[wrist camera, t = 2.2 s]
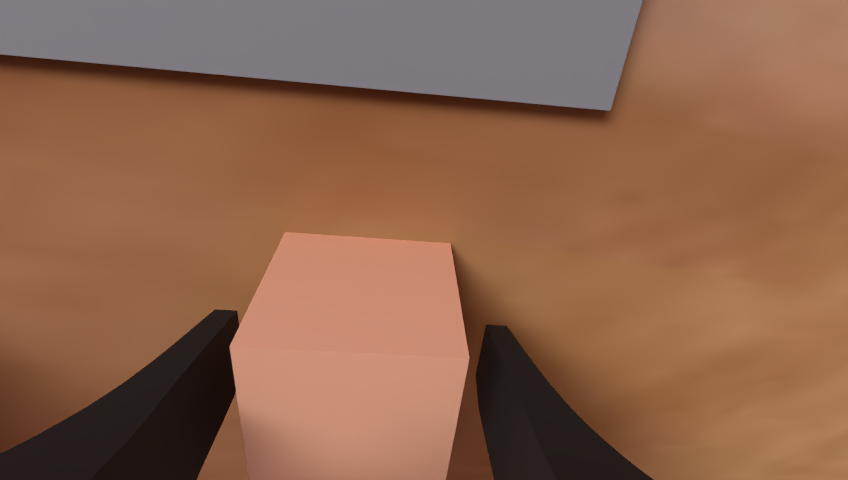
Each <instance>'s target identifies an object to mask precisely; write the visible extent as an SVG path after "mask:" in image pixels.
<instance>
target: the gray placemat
mask: <svg viewBox="0 0 848 480" xmlns="http://www.w3.org/2000/svg"><path fill="white" fill-rule="evenodd" d="M642 1H643V0H0V54H2V55H12V56H23V57H34V58H45V59H56V60H66V61H77V62H88V63H99V64H110V65H121V66H131V67H142V68H153V69H164V70H175V71H185V72H196V73H207V74H218V75H229V76H240V77H250V78H261V79H272V80H283V81H294V82H304V83H315V84H326V85H337V86H348V87H359V88H369V89H380V90H391V91H402V92H413V93H423V94H434V95H445V96H456V97H467V98H478V99H488V100H499V101H510V102H521V103H532V104H542V105H553V106H564V107H575V108H586V109H597V110H607V111H610V110H611V107H612V103H613V100H614V97H615V93H616V90H617V86H618V83H619V80H620V76H621V73H622V69H623V66H624V63H625V59H626V56H627V52H628V49H629V45H630V42H631V39H632V35H633V32H634V28H635V25H636V22H637V18H638V15H639V11H640V8H641V5H642Z"/></svg>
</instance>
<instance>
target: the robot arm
mask: <svg viewBox="0 0 848 480" xmlns="http://www.w3.org/2000/svg"><path fill="white" fill-rule="evenodd" d="M238 328H239V322H238V314H237V311H232V310H214V311H213V312H212V313H210V314H209V315H208V316H207V317H205V318H204V319H203V320H202V321H201V322H200V323H198V324H197V325H196V326H195V327H194V328H192V329H191V330H190V331H189V332H188V333H187V334H185V335H184V336H183V337H182V338H181V339H179V340H178V341H177V342H176V343H175V344H173V345H172V346H171V347H170V348H168V349H167V350H166V351H165V352H164V353H162V354H161V355H160V356H159V357H157V358H156V359H155V360H154V361H152V362H151V363H150V364H148V365H147V366H146V367H144V368H143V369H142V370H140V371H139V372H138V373H136V374H135V375H134V376H132V377H131V378H130V379H128V380H127V381H126V382H124V383H123V384H121V385H120V386H118V387H117V388H115V389H114V390H112V391H111V392H109V393H108V394H106V395H105V396H103V397H102V398H100V399H99V400H97V401H95V402H94V403H92V404H91V405H89V406H88V407H86V408H84V409H83V410H81V411H79V412H78V413H76V414H74V415H72V416H71V417H69V418H67V419H65V420H63V421H62V422H60V423H58V424H56V425H55V426H53V427H51V428H49V429H48V430H46V431H44V432H42V433H40V434H39V435H37V436H35V437H33V438H31V439H29V440H27V441H25V442H23V443H21V444H19V445H17V446H15V447H13V448H11V449H9V450H7V451H5V452H3V453H1V454H0V480H197V477H198V475H199V472H200V470H201V468H202V466H203V464H204V461H205V459H206V457H207V455H208V453H209V451H210V448H211V446H212V444H213V442H214V440H215V437H216V435H217V433H218V431H219V429H220V427H221V424H222V422H223V420H224V418H225V416H226V413H227V411H228V409H229V407H230V404H231V402H232V400H233V398H234V395H235V392H236V387H235V381H234V374H233V367H232V360H231V353H230V347H229V346H230V344H231V342H232V340H233V338H234V336H235V334H236V332H237V330H238ZM476 384H477V395H478V405H479V411H480V416H481V421H482V426H483V430H484V435H485V439H486V444H487V449H488V453H489V458H490V462H491V467H492V472H493V476H494V480H653V479H652V478H651V477H649V476H648V475H646V474H645V473H644V472H642V471H641V470H640V469H638V468H637V467H636V466H635V465H633V464H632V463H631V462H629V461H628V460H627V459H626V458H624V457H623V456H622V455H621V454H620V453H619V452H617V451H616V450H615V449H614V448H613V447H611V446H610V445H609V444H608V443H607V442H606V441H604V440H603V439H602V438H601V437H600V436H599V435H598V434H597V433H596V432H594V431H593V430H592V429H591V428H590V427H589V426H588V425H587V424H586V423H585V422H584V421H583V420H582V419H581V418H580V417H579V416H578V415H577V414H576V413H575V412H574V411H573V410H572V409H571V408H570V407H569V405H568V404H567V403H566V402H565V401H564V400H563V399H562V398H561V396H560V395H559V394H558V393H557V392H556V391H555V389H554V388H553V387H552V386H551V385H550V383H549V382H548V381H547V380H546V378H545V377H544V376H543V375H542V373H541V372H540V371H539V370H538V368H537V367H536V366H535V364H534V363H533V362H532V360H531V359H530V358H529V356H528V355H527V354H526V352H525V351H524V349H523V348H522V347H521V345H520V344H519V342H518V341H517V340H516V338H515V337H514V335H513V334H512V332H511V331H510V330H509V328H508V327H507V326H497V325H486V329H485V334H484V338H483V343H482V348H481V353H480V357H479V362H478V367H477V372H476Z"/></svg>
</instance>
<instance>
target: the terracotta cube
mask: <svg viewBox="0 0 848 480" xmlns="http://www.w3.org/2000/svg"><path fill="white" fill-rule="evenodd" d="M229 347H230V353H231V360H232V367H233V374H234V381H235V387H236V394H237V401H238V408H239V415H240V421H241V428H242V435H243V442H244V448H245V455H246V462H247V469H248V476H249V480H446V476H447V471H448V466H449V461H450V456H451V450H452V445H453V440H454V435H455V430H456V425H457V420H458V415H459V410H460V404H461V399H462V394H463V389H464V384H465V379H466V374H467V369H468V364H469V352H468V346H467V340H466V334H465V328H464V322H463V316H462V310H461V304H460V298H459V292H458V286H457V280H456V274H455V267H454V261H453V255H452V249H451V243H437V242H422V241H407V240H392V239H378V238H363V237H348V236H333V235H318V234H303V233H288V232H285V233H284V235H283V237H282V239H281V241H280V243H279V245H278V248H277V250H276V252H275V254H274V256H273V258H272V260H271V262H270V264H269V266H268V268H267V270H266V272H265V274H264V276H263V278H262V281H261V283H260V285H259V287H258V289H257V291H256V293H255V295H254V297H253V299H252V301H251V303H250V305H249V307H248V309H247V311H246V313H245V316H244V318H243V320H242V322H241V324H240V326H239V328H238V330H237V332H236V334H235V336H234V338H233V340H232V342H231V344H230V346H229Z"/></svg>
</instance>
